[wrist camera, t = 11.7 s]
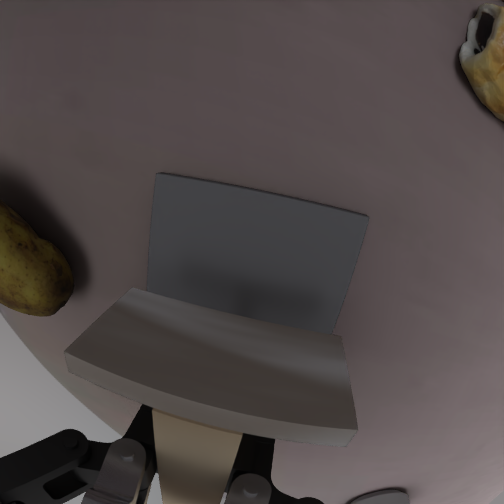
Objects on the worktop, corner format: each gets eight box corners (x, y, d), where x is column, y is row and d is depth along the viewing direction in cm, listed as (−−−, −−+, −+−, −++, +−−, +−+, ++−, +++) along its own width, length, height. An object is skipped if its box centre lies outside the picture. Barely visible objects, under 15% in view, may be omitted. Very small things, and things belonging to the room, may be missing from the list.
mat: (151, 391, 19) (148, 397, 18) (161, 172, 14) (156, 173, 13) (289, 425, 18) (288, 432, 18) (366, 215, 13) (369, 217, 13)
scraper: (273, 474, 14) (265, 537, 10) (143, 441, 14) (115, 496, 10) (341, 336, 10) (358, 432, 6) (132, 287, 11) (62, 353, 7)
